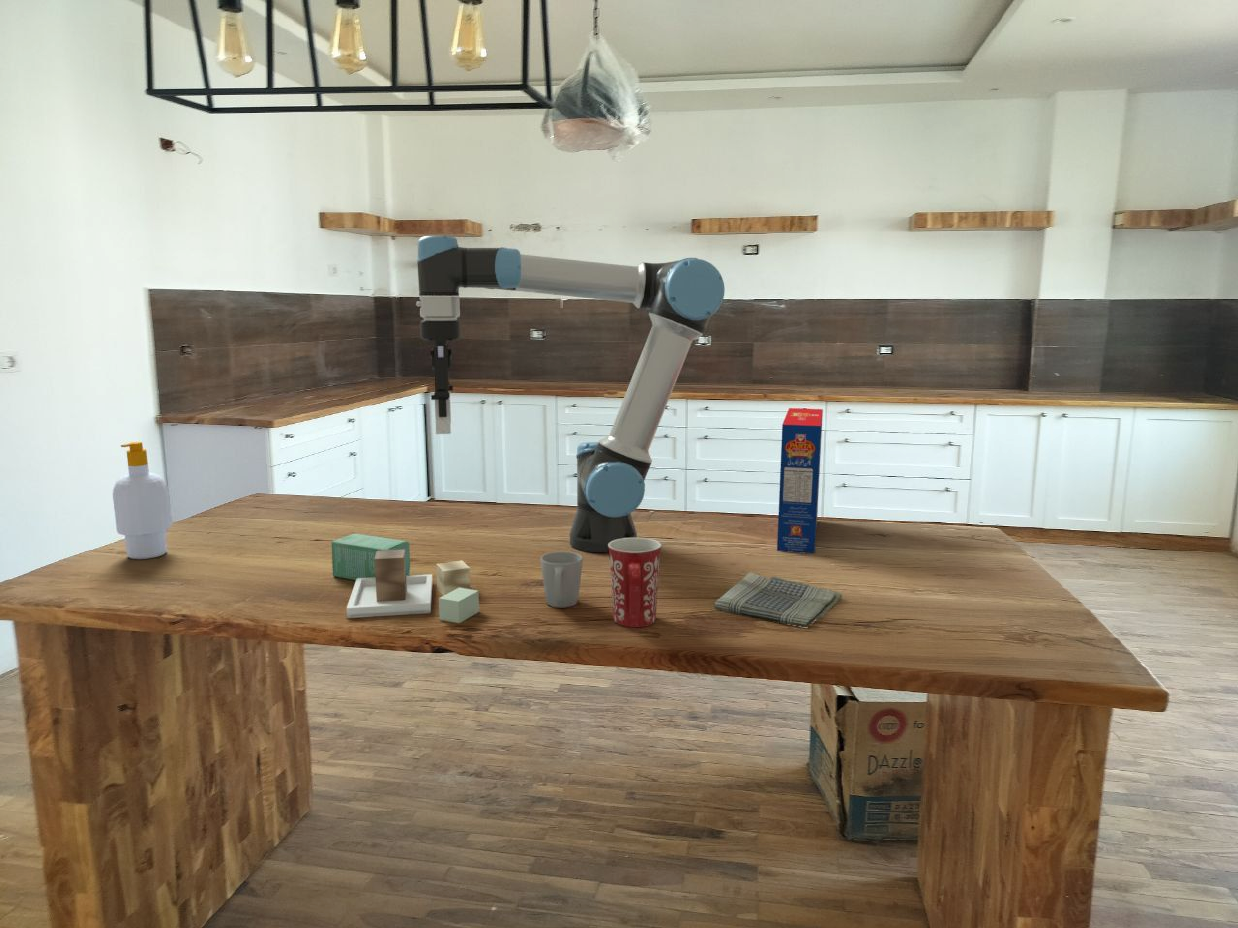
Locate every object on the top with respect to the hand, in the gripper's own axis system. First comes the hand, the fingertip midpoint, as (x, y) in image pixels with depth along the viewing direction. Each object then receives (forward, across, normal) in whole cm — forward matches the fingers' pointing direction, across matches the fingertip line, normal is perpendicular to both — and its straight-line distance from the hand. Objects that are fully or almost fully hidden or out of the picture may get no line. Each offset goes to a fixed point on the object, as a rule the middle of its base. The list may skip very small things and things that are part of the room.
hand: (443, 428), depth 168 cm
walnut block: (+28, +17, -10) cm, 34 cm away
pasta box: (+29, -11, +80) cm, 86 cm away
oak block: (+29, +14, +1) cm, 32 cm away
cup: (+29, +25, +20) cm, 43 cm away
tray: (+29, +17, -10) cm, 35 cm away
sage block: (+29, +27, +2) cm, 40 cm away
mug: (+29, +36, +31) cm, 56 cm away
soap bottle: (+29, -20, -63) cm, 72 cm away
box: (+29, +3, -15) cm, 33 cm away
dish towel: (+29, +31, +59) cm, 73 cm away
